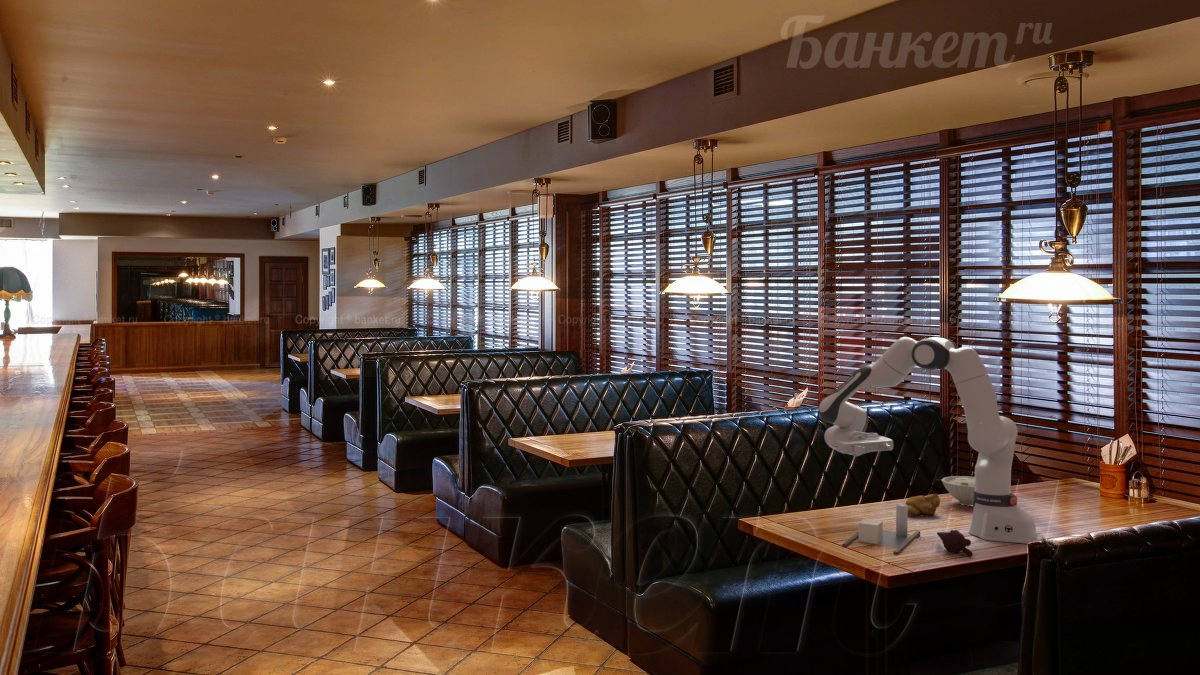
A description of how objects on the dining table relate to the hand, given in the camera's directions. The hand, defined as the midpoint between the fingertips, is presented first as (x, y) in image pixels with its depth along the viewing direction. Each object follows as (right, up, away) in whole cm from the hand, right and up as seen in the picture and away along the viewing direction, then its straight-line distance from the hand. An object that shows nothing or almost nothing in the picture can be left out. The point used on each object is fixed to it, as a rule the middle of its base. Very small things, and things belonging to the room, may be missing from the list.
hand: (877, 449), depth 310 cm
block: (-8, -27, -19) cm, 34 cm away
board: (-3, -28, -17) cm, 33 cm away
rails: (-4, -28, -19) cm, 34 cm away
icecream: (+15, -29, -28) cm, 43 cm away
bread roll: (+21, -26, +18) cm, 38 cm away
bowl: (+45, -25, +33) cm, 61 cm away
